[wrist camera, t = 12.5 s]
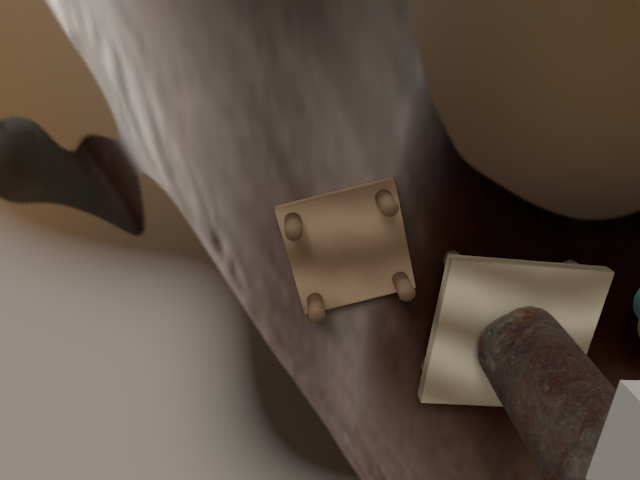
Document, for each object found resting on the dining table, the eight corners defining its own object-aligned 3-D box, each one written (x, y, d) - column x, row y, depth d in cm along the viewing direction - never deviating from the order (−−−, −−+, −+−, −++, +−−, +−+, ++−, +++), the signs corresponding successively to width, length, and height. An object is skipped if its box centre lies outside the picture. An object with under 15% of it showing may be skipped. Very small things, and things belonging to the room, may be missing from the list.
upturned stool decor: (274, 206, 44) (274, 222, 40) (392, 176, 44) (402, 189, 40) (304, 308, 48) (306, 331, 44) (412, 281, 47) (423, 302, 44)
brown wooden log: (485, 387, 47) (616, 618, 29) (457, 325, 45) (581, 533, 26) (566, 353, 47) (754, 567, 28) (542, 287, 44) (732, 474, 25)
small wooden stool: (438, 241, 46) (452, 260, 42) (588, 253, 48) (614, 272, 44) (410, 375, 51) (420, 402, 47) (547, 382, 53) (567, 409, 49)
